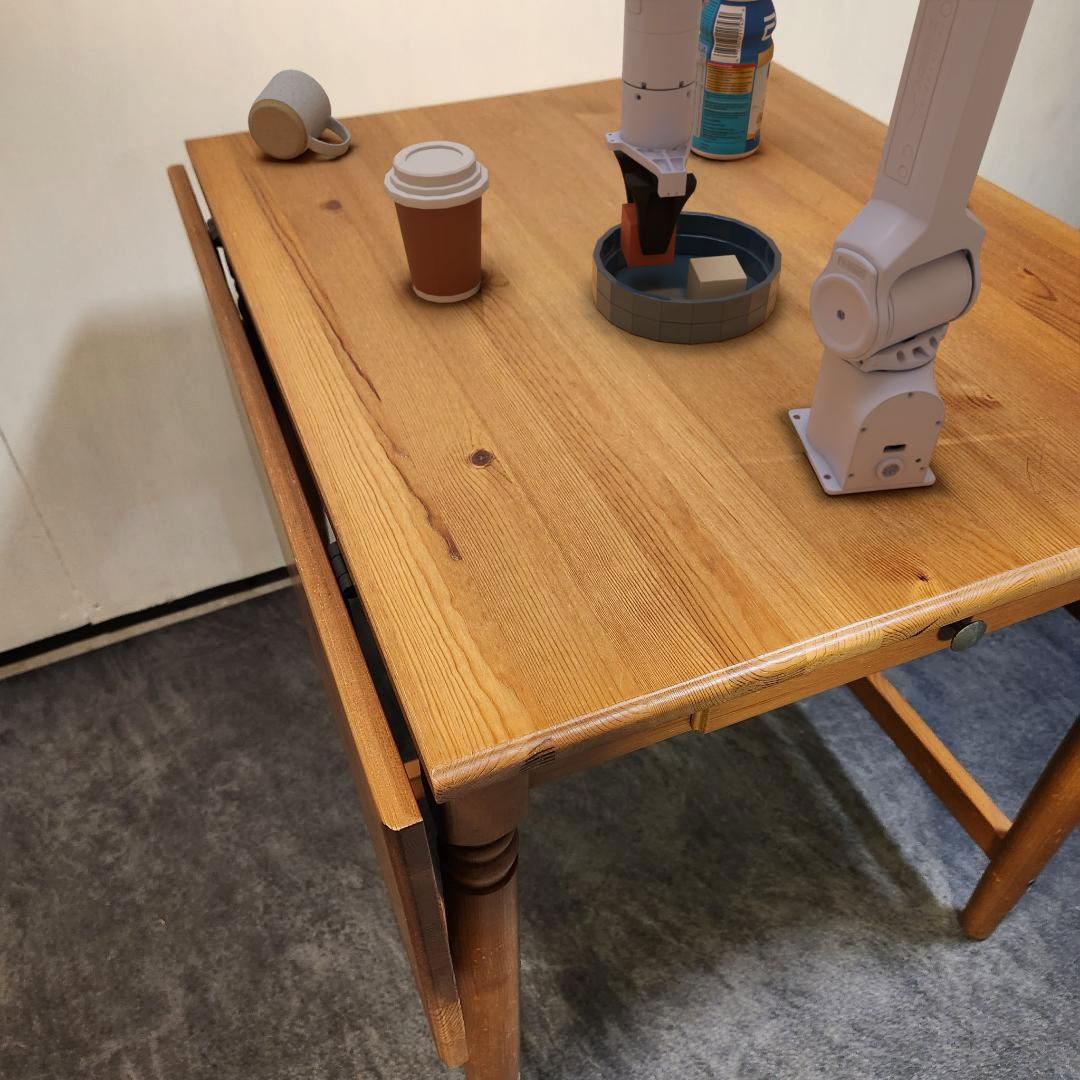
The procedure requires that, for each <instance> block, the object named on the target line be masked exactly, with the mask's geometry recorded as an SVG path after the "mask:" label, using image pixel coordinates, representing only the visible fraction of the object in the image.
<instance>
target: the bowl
mask: <svg viewBox="0 0 1080 1080" xmlns="http://www.w3.org/2000/svg"><path fill="white" fill-rule="evenodd" d="M620 243H621V222H620V223H618V224H615V225H613V226H612V227H609V228H608V229H607V230H606V231H605V232H604V233H603V234H602V235H601V236H600V237H599V238H598V239H597V240H596V243H595V246H594V248H593V252H592V264H591V265H592V266H591V267H592V269H591V270H592V272H591V276H592V277H591V295H592V298H593V301H594V304H595V307H596V309H597V310H598V312H599V313H600V314H601V315H602V316H603V317H604V318H605V319H606V320H607V321H608V322H609V323H611V324H612V325H614V326H616V327H618V328H620V329H621V330H624V331H625V332H627V333H629V334H631V335H635V336H638V337H641V338H644V339H649V340H652V341H656V342H662V343H672V344H673V343H674V344H684V345H694V344H695V345H696V344H706V343H716V342H717V343H719V342H723V341H726V340H730V339H734V338H737V337H741V336H744V335H747V334H748V333H749V332H751V331H752V330H755V329H756V328H757V327H759V326H760V325H763V324H764V323H765V322H766V320H767V319H768V318H769V316H771V313H772V312H773V311H774V310H775V306H776V301H777V296H778V295H777V294H778V289H779V283H780V277H781V273H782V272H781V271H782V258H783V255H782V252H781V251H780V249H779V246H777V243H775V241H774V240H773V238H771V237H770V236H769V235H768V234H766V233H764V232H763V231H762V230H761V229H759V228H757V227H756V226H754V225H751V224H749V223H747V222H744V221H741V220H739V219H737V218H733V217H729V216H724V215H720V214H715V213H712V212H701V211H686V210H685V211H684V210H682V211H681V213H680V215H679V217H678V220H677V224H676V236H675V248H674V260H673V264H667V265H655V266H642V267H630V268H629V267H628V265H627V262H626V260H625V257H624V254H623V251H622V249H621V246H620ZM728 255H735V257H736V258H737V260H738V262H739V264H740V266H741V268H742V270H743V271H744V273H745V275H746V277H747V282H746V289H745V291H743V292H740V293H736V294H733V295H729V296H725V297H721V298H709V299H697V300H689V299H686V292H687V281H688V271H689V261H690V259H691V258H704V257H716V256H728Z"/></svg>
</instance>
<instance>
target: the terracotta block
mask: <svg viewBox="0 0 1080 1080" xmlns="http://www.w3.org/2000/svg"><path fill="white" fill-rule="evenodd" d="M620 223H621V243H620V246H621V249H622V251H623V254H624V257H625V260H626V262H627V265H628V267H629V268H630V267H642V266H655V265H667V264H673V260H674V248H675V236H676V225H675V228H674V232H673V235H672V238H671V241H670V244H669V247H668V249H667V252H666V253H665V254H657V255H643V254H642V251H641V247H640V243H639V235H638V224H637V214H636V209H635V204H634V203H627V202H626V203H621V222H620ZM676 224H677V223H676Z"/></svg>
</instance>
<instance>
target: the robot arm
mask: <svg viewBox="0 0 1080 1080" xmlns="http://www.w3.org/2000/svg"><path fill="white" fill-rule="evenodd" d="M707 2H709V0H624V8H623V9H624V11H623V13H624V14H623V36H622V37H623V39H622V66H621V67H622V69H621V96H620V122H619V123H620V124H619V129H618V131H614V132H607V133H605V136H604V143H605V146H606V149H608V151H612V152H613V154H614V156H615V158H616V161H617V162H618V166H619V169H620V171H621V175H622V179H623V184H624V189H625V195H626V196H625V197H626V204H627V203H634V204H635V209H636V214H637V224H638V235H639V243H640V247H641V251H642V254H643V255H657V254H665V253H666V252H667V249H668V247H669V244H670V241H671V238H672V235H673V232H674V228H675V225H676V223H677V220H678V217H679V215H680V213H681V211H683V209H684V207H685V205H686V203H687V202H688V200H689V199H690V197H691V196H692V195H693V194H694V193H695V191H696V188H697V184H698V180H697V178H696V176H695V174H694V173H693V172H689V173H688V170H687V168H686V167H687V163H688V161H689V157H690V154H691V151H692V150H691V147H692V140H693V134H692V132H691V124H692V113H693V102H694V90H695V78H696V68H697V56H698V45H699V34H700V23H701V11H702V10H703V9H704V8H705V7H706V5H707ZM1034 3H1035V0H919V3H918V6H917V10H916V15H915V19H914V23H913V27H912V31H911V35H910V39H909V43H908V47H907V51H906V55H905V58H904V63H903V67H902V70H901V75H900V79H899V83H898V87H897V91H896V94H895V99H894V102H893V107H892V112H891V115H890V119H889V124H888V127H887V131H886V135H885V139H884V143H883V147H882V151H881V156H880V159H879V164H878V166H877V171H876V176H875V180H874V184H873V188H872V190H871V196H870V198H869V200H868V201H867V203H865V205H864V206H863V207H862V208H861V209H860V211H858V213H857V214H856V215H855V216H854V217H853V218H852V219H851V220H850V222H848V224H846V226H845V227H844V228H843V229H842V231H841V232H839V234H838V235H837V236H836V237H835V239H834V241H833V244H832V248H831V253H830V256H829V259H828V261H827V263H826V265H825V267H824V268H823V269H822V270H821V271H820V273H819V274H818V275H817V276H816V277H815V280H814V281H813V283H812V286H811V289H810V294H809V314H810V320H811V323H812V326H813V329H814V331H815V333H816V335H817V337H818V339H819V343H820V344H821V345H822V346H823V350H822V355H821V359H820V363H819V369H818V374H817V379H816V382H815V387H814V390H813V391H814V392H813V396H812V401H811V405H810V407H807V408H796V409H794V408H793V409H790V410H789V411H788V412H787V414H788V416H789V418H790V420H791V422H792V424H793V426H794V428H795V430H796V432H797V435H798V436H799V439H800V440H801V443H802V444H803V446H804V449H805V450H806V451H804V453H805V455H806V456H807V459H808V461H809V463H810V465H811V467H812V469H813V471H814V473H815V475H816V477H817V479H818V481H819V483H820V485H821V486H822V489H823V491H824V492H825V493H826V494H827V495H830V496H834V495H835V496H836V495H844V494H854V493H855V494H856V493H863V492H875V491H884V490H885V491H886V490H894V489H896V490H897V489H905V488H917V487H925V486H931V485H934V484H935V482H936V479H937V478H936V476H935V474H934V472H933V471H932V469H931V468H930V464H931V460H932V458H933V454H934V451H935V450H936V446H937V443H938V440H939V438H940V435H941V432H942V430H943V426H944V423H945V420H946V407H945V404H944V401H943V398H942V397H941V394H940V393H939V390H938V388H937V384H936V380H935V362H936V358H937V357H936V356H937V353H938V349H939V346H940V343H941V341H943V340H945V339H946V335H947V332H948V329H949V326H950V323H952V322H955V321H957V320H959V319H961V318H963V317H965V316H966V315H967V314H968V313H969V312H970V311H971V310H972V308H973V307H974V306H975V304H976V302H977V300H978V298H979V295H980V291H981V287H982V274H981V273H982V272H981V252H982V246H983V244H984V241H985V238H986V235H987V229H986V226H984V224H983V223H982V222H981V221H980V219H979V218H978V217H977V216H976V215H975V214H974V213H973V212H972V211H971V210H970V209H969V208H967V206H968V203H969V201H970V197H971V194H972V191H973V188H974V185H975V182H976V179H977V176H978V173H979V170H980V168H981V164H982V162H983V158H984V154H985V152H986V148H987V145H988V143H989V139H990V136H991V133H992V130H993V127H994V125H995V121H996V118H997V115H998V111H999V109H1000V106H1001V103H1002V100H1003V97H1004V93H1005V92H1006V91H1005V90H1006V87H1007V84H1008V81H1009V78H1010V75H1011V72H1012V68H1013V66H1014V63H1015V60H1016V57H1017V54H1018V51H1019V48H1020V44H1021V42H1022V39H1023V35H1024V32H1025V29H1026V26H1027V23H1028V20H1029V17H1030V14H1031V11H1032V8H1033V5H1034ZM796 416H797V417H799V418H795V417H796Z"/></svg>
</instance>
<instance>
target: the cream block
mask: <svg viewBox="0 0 1080 1080" xmlns="http://www.w3.org/2000/svg"><path fill="white" fill-rule="evenodd" d="M746 282H747V277H746V275H745V273H744V271H743V270H742V268H741V266H740V264H739V262H738V260H737V258H736V257H735V255H728V256H716V257H704V258H691V259H690V261H689V271H688V281H687V292H686V299H689V300H697V299H709V298H721V297H725V296H729V295H733V294H736V293H740V292H743V291H745V289H746Z"/></svg>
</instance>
